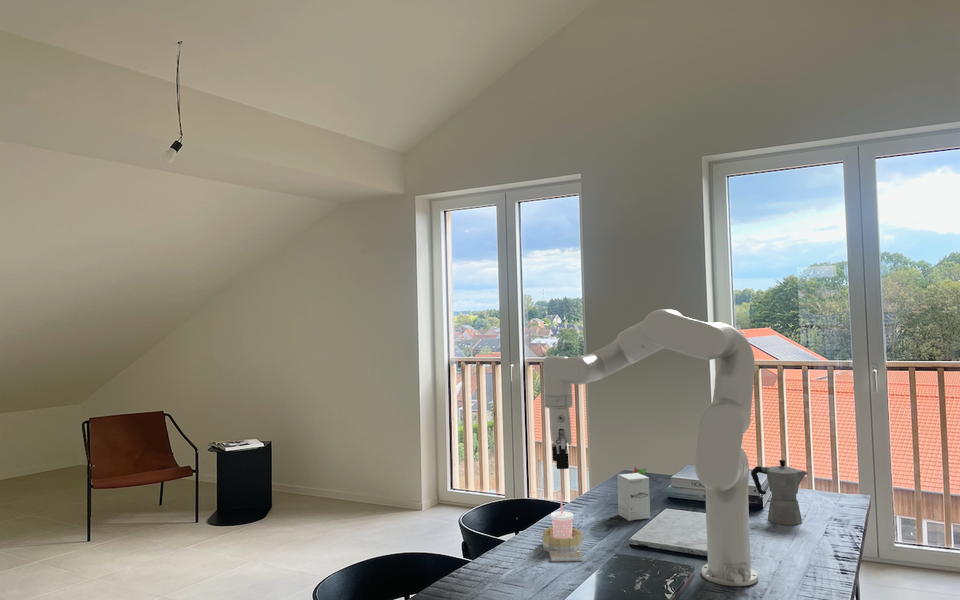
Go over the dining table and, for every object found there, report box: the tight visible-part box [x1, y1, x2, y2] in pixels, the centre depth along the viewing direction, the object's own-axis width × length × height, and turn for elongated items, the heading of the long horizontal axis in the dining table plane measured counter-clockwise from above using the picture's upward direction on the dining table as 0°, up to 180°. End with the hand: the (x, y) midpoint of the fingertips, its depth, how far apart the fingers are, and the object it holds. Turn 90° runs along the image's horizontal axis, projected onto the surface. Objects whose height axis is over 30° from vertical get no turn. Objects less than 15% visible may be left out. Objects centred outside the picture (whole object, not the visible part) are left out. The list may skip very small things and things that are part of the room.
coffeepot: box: [750, 459, 808, 526], centre depth 197 cm, size 15×9×18 cm, turn 67°
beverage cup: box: [550, 494, 574, 538], centre depth 179 cm, size 6×6×14 cm
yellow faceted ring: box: [542, 525, 583, 547], centre depth 181 cm, size 15×10×4 cm
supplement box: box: [616, 473, 651, 522], centre depth 204 cm, size 7×7×13 cm
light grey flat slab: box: [542, 536, 584, 563], centre depth 176 cm, size 15×10×2 cm
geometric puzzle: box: [630, 467, 651, 480], centre depth 240 cm, size 7×7×8 cm
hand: (560, 464), depth 179 cm, fingers open, 9 cm apart
